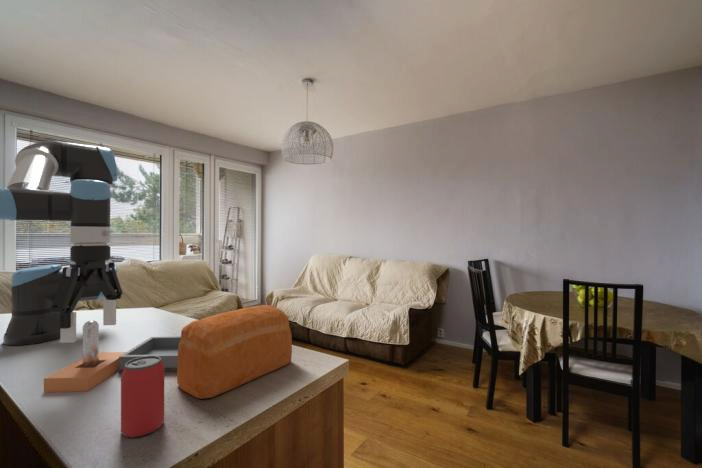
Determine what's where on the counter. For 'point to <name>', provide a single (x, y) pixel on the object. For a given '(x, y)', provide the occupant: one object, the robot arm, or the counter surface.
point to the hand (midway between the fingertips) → (90, 332)
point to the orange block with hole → (83, 374)
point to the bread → (232, 349)
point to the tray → (155, 352)
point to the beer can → (142, 396)
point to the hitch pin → (90, 344)
